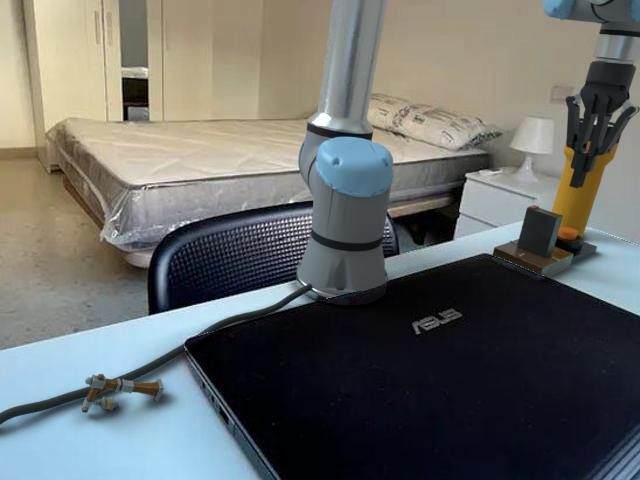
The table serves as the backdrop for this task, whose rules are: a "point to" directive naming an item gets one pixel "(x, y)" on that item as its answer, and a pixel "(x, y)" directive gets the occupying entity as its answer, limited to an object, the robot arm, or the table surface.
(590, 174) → the flashlight
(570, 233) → the button
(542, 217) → the dark gray rectangular block
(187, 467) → the table surface
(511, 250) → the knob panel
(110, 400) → the toy blaster gun
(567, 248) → the button block
